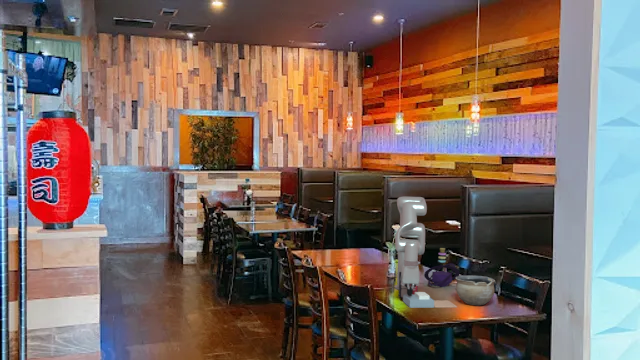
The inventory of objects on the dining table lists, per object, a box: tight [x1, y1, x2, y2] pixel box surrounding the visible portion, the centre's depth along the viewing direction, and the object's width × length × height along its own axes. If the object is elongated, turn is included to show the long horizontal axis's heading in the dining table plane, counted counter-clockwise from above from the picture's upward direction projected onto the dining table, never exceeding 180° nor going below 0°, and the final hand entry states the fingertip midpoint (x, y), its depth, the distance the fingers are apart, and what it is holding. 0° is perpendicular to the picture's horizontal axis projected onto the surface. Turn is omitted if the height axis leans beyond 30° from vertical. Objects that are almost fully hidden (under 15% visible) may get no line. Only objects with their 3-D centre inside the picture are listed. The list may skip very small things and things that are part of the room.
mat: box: [433, 299, 458, 308], centre depth 322 cm, size 14×13×1 cm
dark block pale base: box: [398, 272, 419, 299], centre depth 337 cm, size 11×4×15 cm, turn 101°
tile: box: [414, 291, 431, 299], centre depth 321 cm, size 9×6×2 cm, turn 7°
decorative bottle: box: [423, 247, 460, 288], centre depth 370 cm, size 22×21×25 cm
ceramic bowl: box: [455, 275, 496, 306], centre depth 326 cm, size 22×22×15 cm
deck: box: [402, 294, 435, 309], centre depth 320 cm, size 14×14×4 cm
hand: (409, 295), depth 320 cm, fingers closed
